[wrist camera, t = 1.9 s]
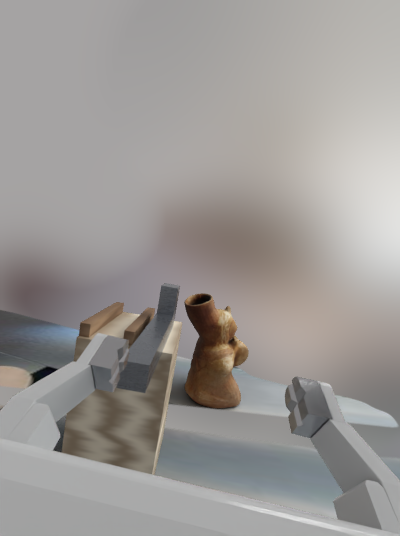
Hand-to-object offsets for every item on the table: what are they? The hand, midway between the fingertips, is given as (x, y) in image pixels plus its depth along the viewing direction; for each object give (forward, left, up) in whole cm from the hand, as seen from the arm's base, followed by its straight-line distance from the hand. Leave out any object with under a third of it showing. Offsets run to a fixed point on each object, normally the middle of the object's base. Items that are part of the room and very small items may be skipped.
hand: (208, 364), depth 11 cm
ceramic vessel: (-6, -50, -36) cm, 62 cm away
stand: (+10, -27, -36) cm, 46 cm away
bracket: (+6, -21, -10) cm, 24 cm away
